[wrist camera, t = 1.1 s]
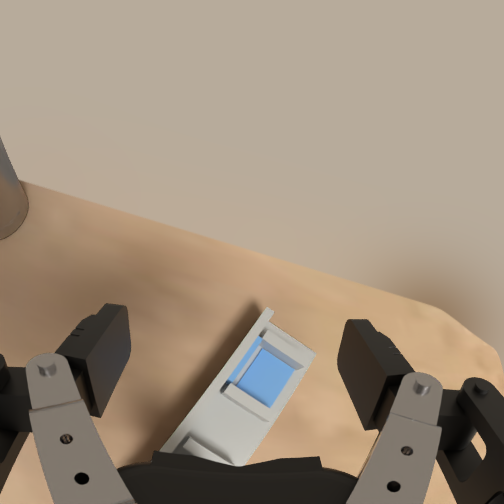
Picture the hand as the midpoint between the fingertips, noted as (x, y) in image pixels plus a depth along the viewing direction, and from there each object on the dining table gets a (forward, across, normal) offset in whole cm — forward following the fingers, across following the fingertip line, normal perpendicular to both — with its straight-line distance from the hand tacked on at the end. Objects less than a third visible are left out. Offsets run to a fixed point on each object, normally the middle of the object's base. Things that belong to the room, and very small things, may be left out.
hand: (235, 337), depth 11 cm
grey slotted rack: (+14, 0, +20) cm, 25 cm away
